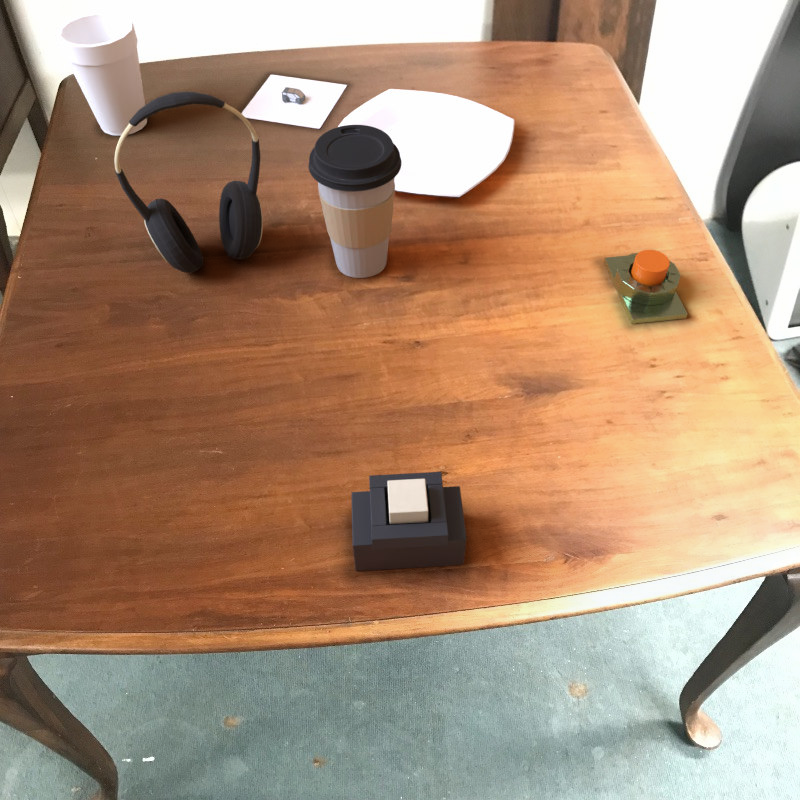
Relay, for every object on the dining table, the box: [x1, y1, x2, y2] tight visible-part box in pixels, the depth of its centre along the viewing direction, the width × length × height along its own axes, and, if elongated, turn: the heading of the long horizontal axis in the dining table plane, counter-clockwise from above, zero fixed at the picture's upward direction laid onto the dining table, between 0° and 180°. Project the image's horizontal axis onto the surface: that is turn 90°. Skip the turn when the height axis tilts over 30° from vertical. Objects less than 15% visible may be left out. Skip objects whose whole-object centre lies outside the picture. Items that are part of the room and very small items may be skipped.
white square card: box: [240, 74, 348, 130], centre depth 110 cm, size 12×12×2 cm
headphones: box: [114, 90, 264, 274], centre depth 82 cm, size 9×15×20 cm, turn 112°
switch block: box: [603, 252, 688, 325], centre depth 84 cm, size 10×6×2 cm, turn 7°
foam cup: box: [55, 11, 148, 137], centre depth 102 cm, size 10×9×13 cm
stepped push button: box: [350, 471, 467, 572], centre depth 63 cm, size 9×6×6 cm, turn 93°
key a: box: [387, 479, 428, 524], centre depth 61 cm, size 3×3×2 cm
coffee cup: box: [308, 125, 402, 279], centre depth 83 cm, size 9×9×15 cm
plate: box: [337, 88, 516, 199], centre depth 102 cm, size 23×23×2 cm
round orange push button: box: [631, 249, 671, 286], centre depth 83 cm, size 4×4×2 cm
